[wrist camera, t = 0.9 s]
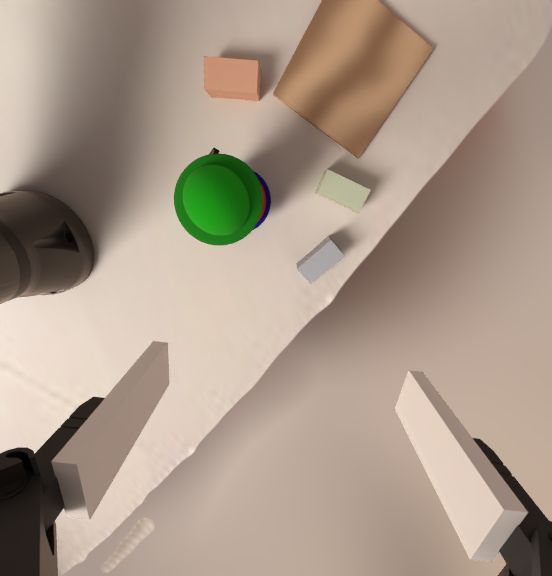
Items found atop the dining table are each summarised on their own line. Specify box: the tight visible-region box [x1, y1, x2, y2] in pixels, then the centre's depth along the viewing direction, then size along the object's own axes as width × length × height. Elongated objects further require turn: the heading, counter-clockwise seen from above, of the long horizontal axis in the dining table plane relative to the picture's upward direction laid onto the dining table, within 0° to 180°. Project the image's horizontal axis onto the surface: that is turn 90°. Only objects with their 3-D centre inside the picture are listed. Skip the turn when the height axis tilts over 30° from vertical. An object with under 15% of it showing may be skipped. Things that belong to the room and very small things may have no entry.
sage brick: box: [315, 169, 371, 213], centre depth 34 cm, size 6×3×3 cm, turn 67°
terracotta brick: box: [204, 56, 261, 101], centre depth 31 cm, size 6×3×3 cm, turn 85°
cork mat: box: [273, 0, 433, 158], centre depth 31 cm, size 13×13×1 cm
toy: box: [174, 148, 271, 245], centre depth 30 cm, size 9×9×15 cm
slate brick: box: [297, 237, 344, 284], centre depth 38 cm, size 6×3×3 cm, turn 133°
